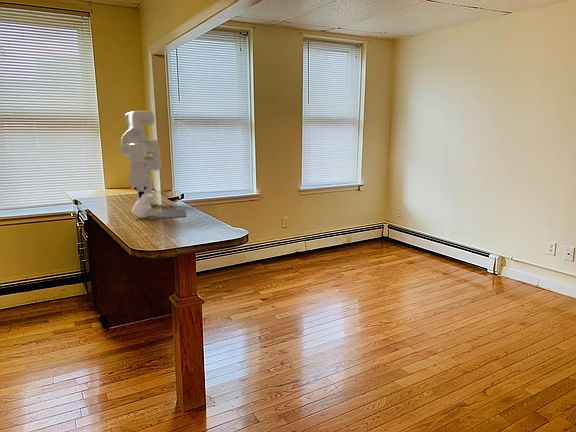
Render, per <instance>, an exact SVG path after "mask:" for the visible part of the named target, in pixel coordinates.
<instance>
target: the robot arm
mask: <svg viewBox="0 0 576 432" xmlns="http://www.w3.org/2000/svg"><path fill="white" fill-rule="evenodd" d="M124 119H125V123H126V125H127V126H128V128H127V129H128V130H126V132H124V134H123V135H122V137H120V153H121V155H122V156H124V157H129V159H130V160H129V161H130V169H129V183H130V190H135V191H136V193H137V201H138V200H140V198H141V196H142V194H149V193H150V194H152V195H153V196H154V194H153V193H154V192H153V182H152V177H151V175H150V174H149V172H157V171H160V170H161V169H162V161H161V160H162V159H161V149H160V143H159V141H158V140H157V139H155V138H154V139H153V138H151V139H149V138H147V135H146V134H147V133H146V130H145V129H144V128H145V126H153V125H154V124H155V120H156V118H155V114H154V112H153V111H151V110H131V111H130V112H126V113H125V114H124ZM146 155H150V156H146ZM156 205H157V202H156V201H154V199H153V200H152V202H151V204H150V206H151V207H152V206H156Z"/></svg>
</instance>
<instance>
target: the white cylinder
mask: <svg viewBox="0 0 576 432" xmlns="http://www.w3.org/2000/svg"><path fill="white" fill-rule="evenodd" d="M154 197H155V195H154V194H153V195H152V194H150V193H149V194H142V196H141V198H140V200H138V199H137V200H136V201H135V203H134V205H133V207H132V209H131V213H133V215H135V216H137V217H138V218H139V217H140V218H144V219H146V218H148V217H149V213H151V212H150V211H151V210H152V206H150V204H151V202H152V200H154Z"/></svg>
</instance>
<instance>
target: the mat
mask: <svg viewBox="0 0 576 432" xmlns="http://www.w3.org/2000/svg"><path fill="white" fill-rule="evenodd" d="M175 218H176V219H178V218H186V211H185V209H178V210H166V211H165V210H164V211H153V212H149V214H148V216H147V221H155V220H166V219H175Z"/></svg>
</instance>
